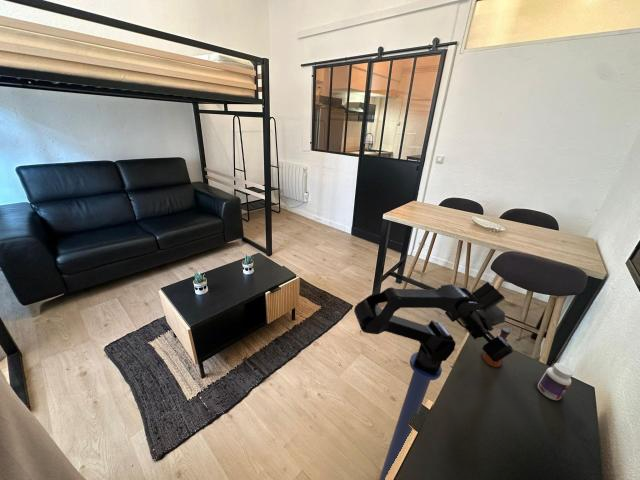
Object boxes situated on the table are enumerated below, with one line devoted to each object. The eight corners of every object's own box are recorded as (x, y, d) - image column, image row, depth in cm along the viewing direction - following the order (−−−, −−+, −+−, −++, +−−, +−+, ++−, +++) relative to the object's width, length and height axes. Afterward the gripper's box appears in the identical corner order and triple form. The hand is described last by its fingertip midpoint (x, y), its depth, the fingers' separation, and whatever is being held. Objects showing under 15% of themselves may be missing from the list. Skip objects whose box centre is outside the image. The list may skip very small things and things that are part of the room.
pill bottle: (561, 404, 71) (577, 381, 67) (537, 393, 74) (552, 369, 70) (559, 391, 75) (574, 367, 71) (536, 380, 78) (550, 357, 74)
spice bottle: (492, 363, 82) (506, 333, 77) (485, 356, 84) (498, 327, 79) (498, 362, 83) (513, 332, 78) (491, 355, 85) (505, 326, 80)
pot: (482, 362, 83) (487, 352, 81) (482, 352, 87) (487, 342, 85) (500, 369, 81) (505, 359, 79) (499, 358, 85) (504, 349, 83)
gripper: (521, 324, 64) (539, 353, 70) (470, 282, 81) (488, 309, 87) (483, 348, 66) (504, 375, 72) (441, 303, 83) (461, 327, 89)
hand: (488, 343), depth 80 cm, fingers open, 9 cm apart
